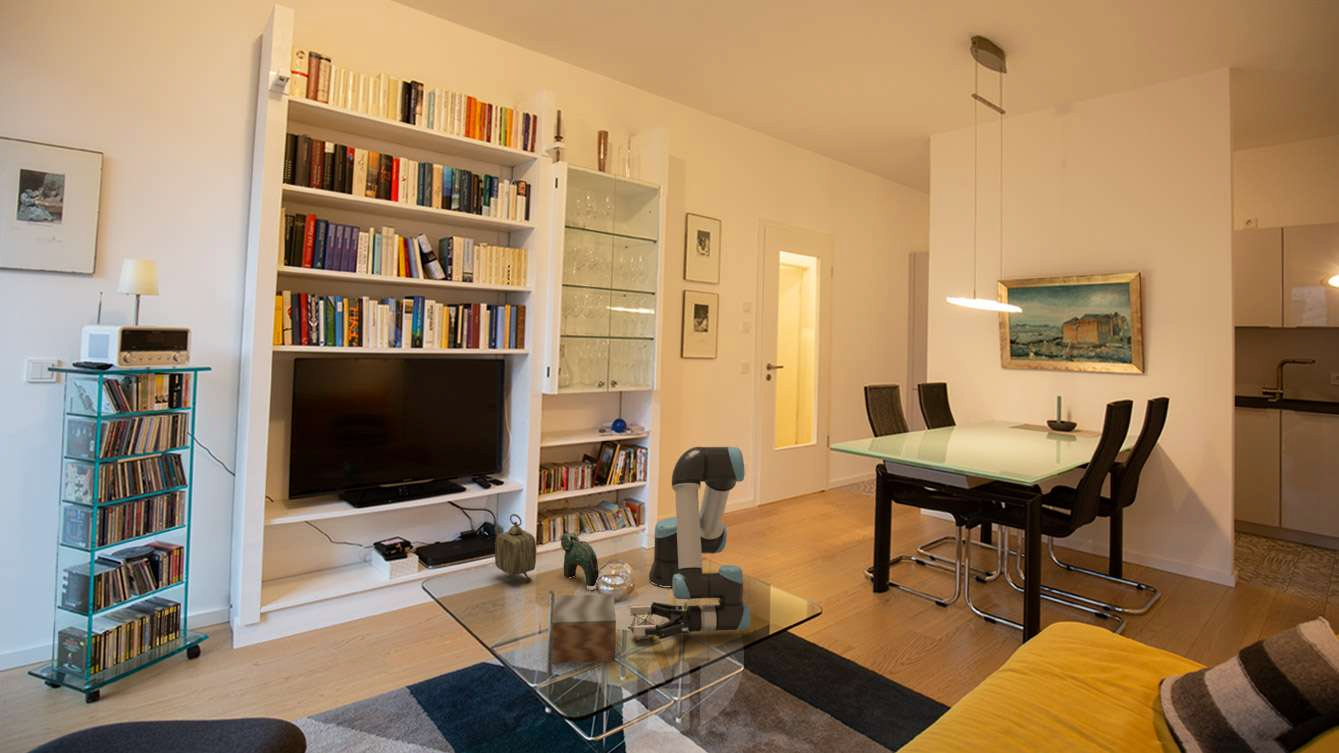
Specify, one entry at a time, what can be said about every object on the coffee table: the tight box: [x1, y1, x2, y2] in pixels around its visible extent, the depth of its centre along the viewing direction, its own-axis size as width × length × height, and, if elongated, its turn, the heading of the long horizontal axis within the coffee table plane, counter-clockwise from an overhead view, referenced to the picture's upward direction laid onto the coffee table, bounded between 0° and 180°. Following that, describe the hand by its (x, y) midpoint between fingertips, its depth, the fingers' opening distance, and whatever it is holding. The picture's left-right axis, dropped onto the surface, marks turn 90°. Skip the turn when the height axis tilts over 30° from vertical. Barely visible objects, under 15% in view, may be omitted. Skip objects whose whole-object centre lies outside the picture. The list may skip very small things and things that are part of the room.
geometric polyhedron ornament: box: [627, 612, 657, 643], centre depth 197 cm, size 9×8×10 cm
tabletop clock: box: [494, 513, 537, 583], centre depth 239 cm, size 14×9×25 cm, turn 48°
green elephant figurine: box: [560, 528, 600, 586], centre depth 239 cm, size 20×6×20 cm, turn 42°
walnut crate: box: [551, 593, 617, 664], centre depth 192 cm, size 18×18×12 cm
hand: (631, 620), depth 197 cm, fingers open, 12 cm apart
